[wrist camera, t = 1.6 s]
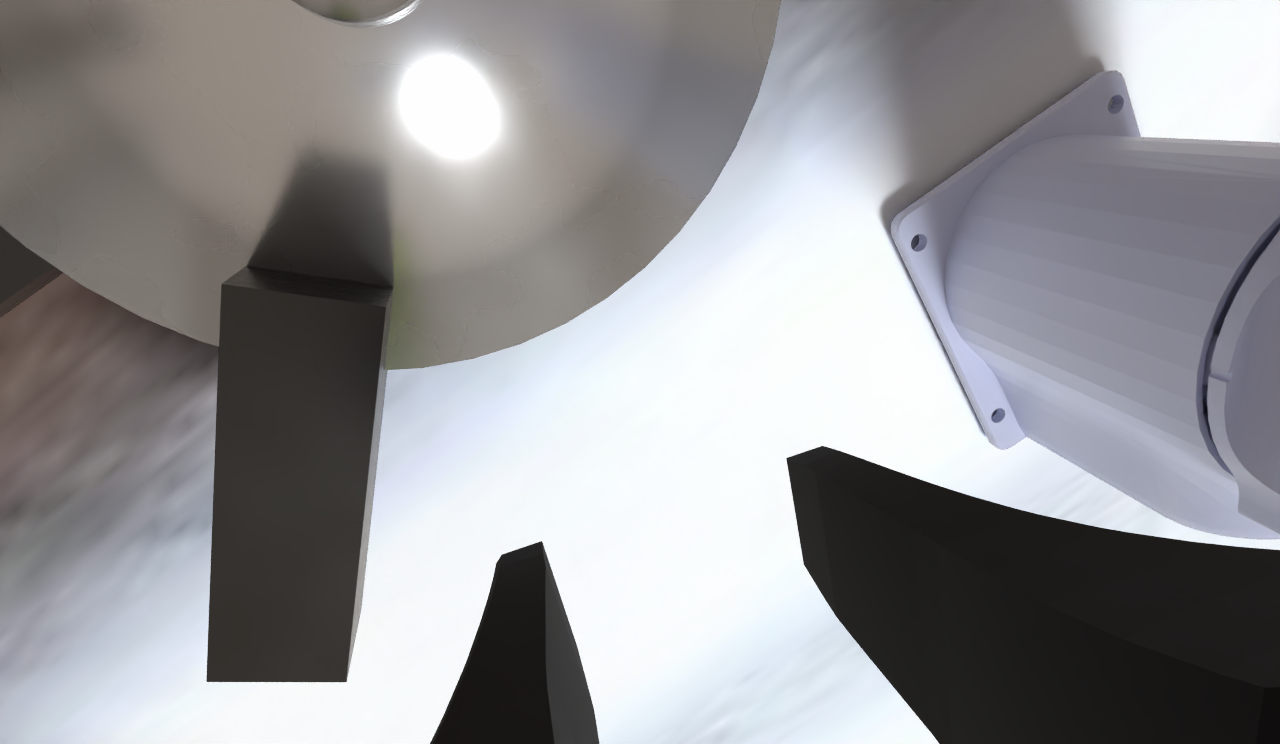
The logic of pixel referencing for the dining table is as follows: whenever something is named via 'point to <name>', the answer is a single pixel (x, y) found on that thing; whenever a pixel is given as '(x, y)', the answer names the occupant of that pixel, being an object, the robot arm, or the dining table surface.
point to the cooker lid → (353, 223)
